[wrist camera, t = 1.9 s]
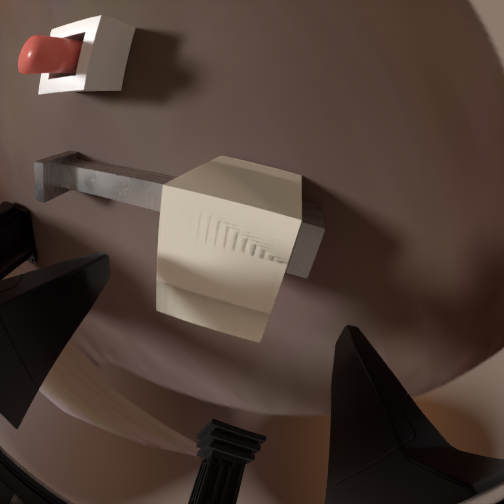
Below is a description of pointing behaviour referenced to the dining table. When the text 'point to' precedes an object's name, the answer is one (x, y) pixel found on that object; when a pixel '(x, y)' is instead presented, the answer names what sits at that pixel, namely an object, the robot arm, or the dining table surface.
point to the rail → (153, 196)
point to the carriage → (226, 244)
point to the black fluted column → (222, 462)
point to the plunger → (49, 55)
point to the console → (93, 56)
